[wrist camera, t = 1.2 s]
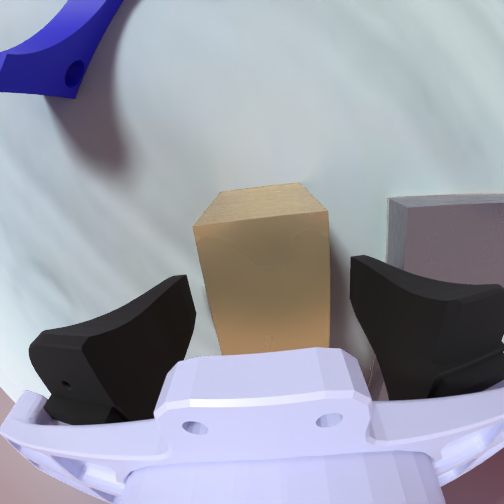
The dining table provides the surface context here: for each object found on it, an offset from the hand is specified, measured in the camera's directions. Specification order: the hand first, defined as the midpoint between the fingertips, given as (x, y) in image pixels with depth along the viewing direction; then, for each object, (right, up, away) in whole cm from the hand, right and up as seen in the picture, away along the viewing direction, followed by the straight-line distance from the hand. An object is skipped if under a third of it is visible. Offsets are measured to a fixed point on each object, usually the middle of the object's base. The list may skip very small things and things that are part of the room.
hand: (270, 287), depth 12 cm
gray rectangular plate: (+11, -5, +3) cm, 13 cm away
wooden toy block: (0, +1, +2) cm, 2 cm away
